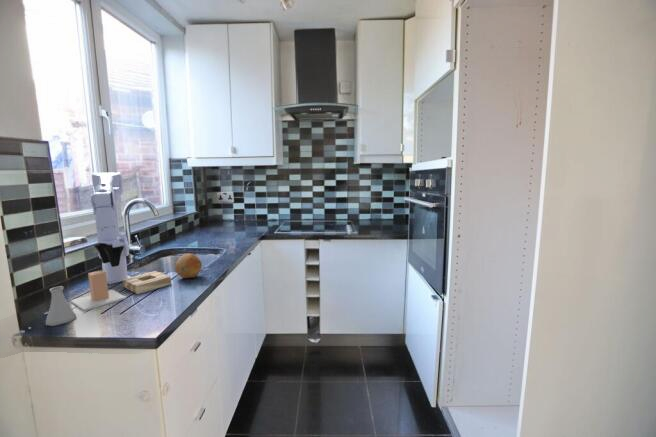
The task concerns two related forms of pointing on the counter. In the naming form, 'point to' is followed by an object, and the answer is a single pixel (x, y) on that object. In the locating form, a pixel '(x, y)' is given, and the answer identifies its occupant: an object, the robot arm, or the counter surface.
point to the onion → (188, 266)
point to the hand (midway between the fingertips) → (111, 264)
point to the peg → (98, 285)
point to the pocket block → (146, 282)
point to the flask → (59, 308)
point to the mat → (88, 303)
